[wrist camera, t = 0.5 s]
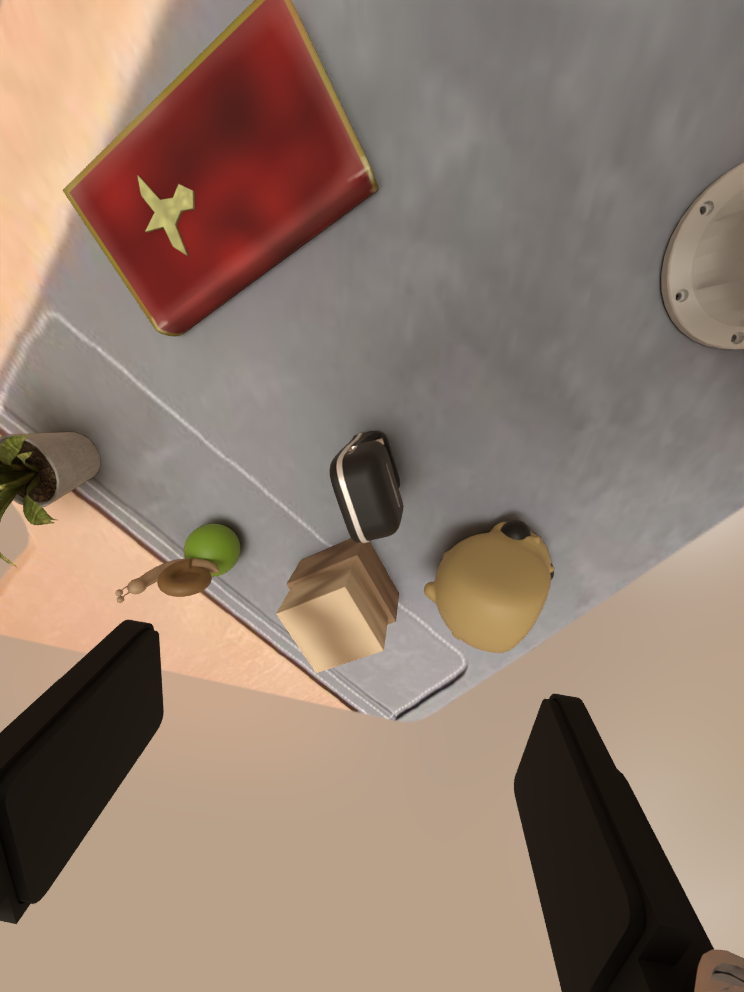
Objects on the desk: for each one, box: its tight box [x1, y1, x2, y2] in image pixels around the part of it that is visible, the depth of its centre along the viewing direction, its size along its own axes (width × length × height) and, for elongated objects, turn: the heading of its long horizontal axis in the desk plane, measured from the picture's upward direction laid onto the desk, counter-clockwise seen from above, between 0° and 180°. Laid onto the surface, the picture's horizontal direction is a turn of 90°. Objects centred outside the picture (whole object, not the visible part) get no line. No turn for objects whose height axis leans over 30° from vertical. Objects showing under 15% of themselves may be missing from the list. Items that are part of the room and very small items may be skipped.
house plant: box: [0, 432, 101, 566], centre depth 35 cm, size 14×14×16 cm
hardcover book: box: [63, 0, 378, 336], centre depth 31 cm, size 12×21×4 cm, turn 120°
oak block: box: [277, 560, 388, 673], centre depth 37 cm, size 7×7×4 cm
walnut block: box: [287, 538, 399, 624], centre depth 41 cm, size 8×8×5 cm
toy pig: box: [424, 520, 554, 653], centre depth 36 cm, size 10×12×11 cm
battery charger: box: [330, 431, 403, 543], centre depth 33 cm, size 7×4×11 cm, turn 17°
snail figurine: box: [115, 524, 240, 603], centre depth 38 cm, size 5×6×12 cm
